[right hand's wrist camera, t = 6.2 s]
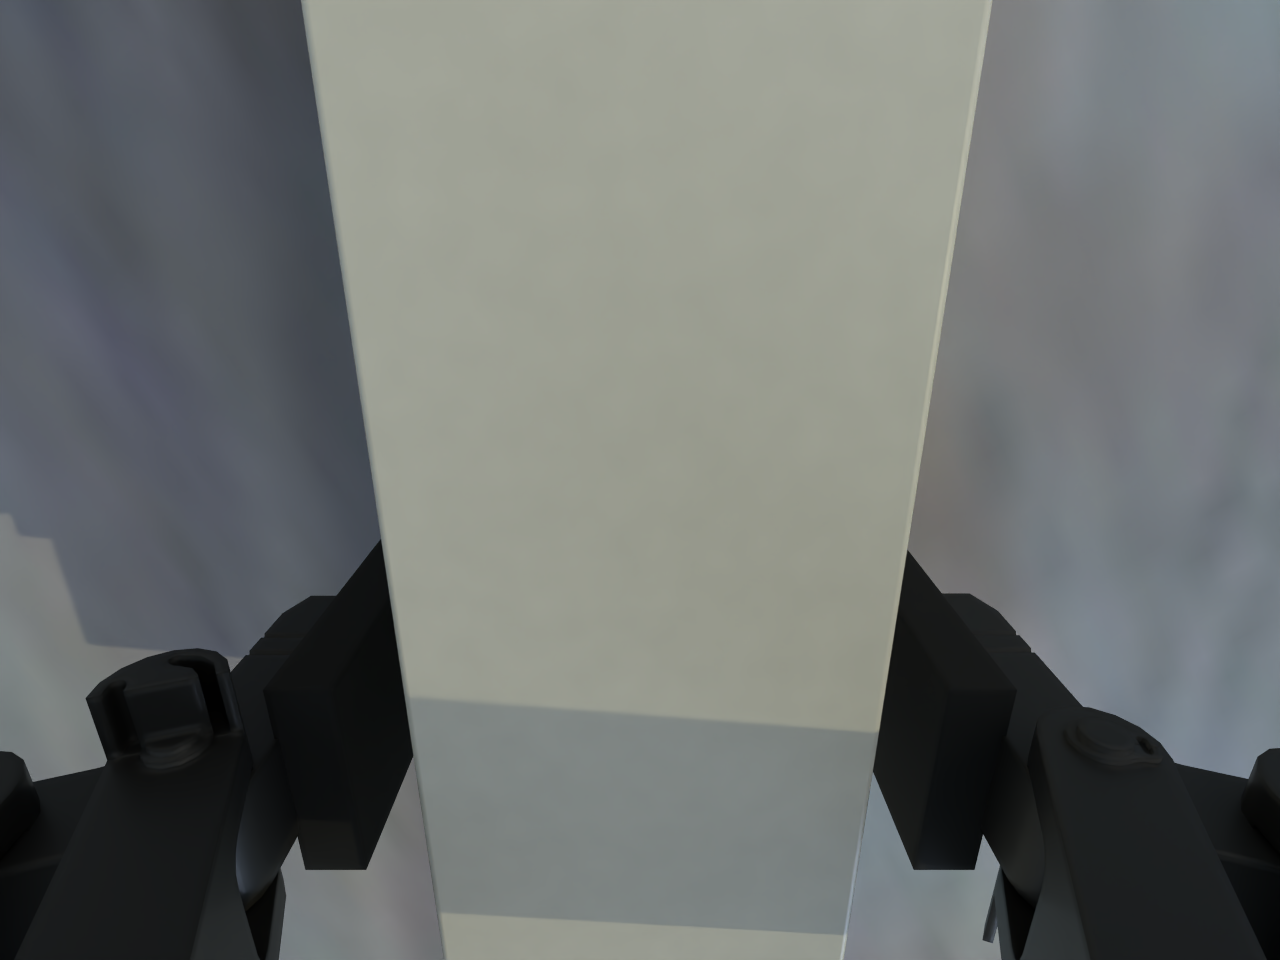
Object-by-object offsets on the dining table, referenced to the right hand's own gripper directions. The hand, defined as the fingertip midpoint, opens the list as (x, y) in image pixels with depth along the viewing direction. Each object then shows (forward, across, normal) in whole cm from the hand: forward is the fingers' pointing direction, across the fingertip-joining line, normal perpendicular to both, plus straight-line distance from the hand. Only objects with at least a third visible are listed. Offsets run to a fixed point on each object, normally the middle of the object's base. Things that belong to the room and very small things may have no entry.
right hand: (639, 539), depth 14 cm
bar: (+1, 0, -25) cm, 25 cm away
